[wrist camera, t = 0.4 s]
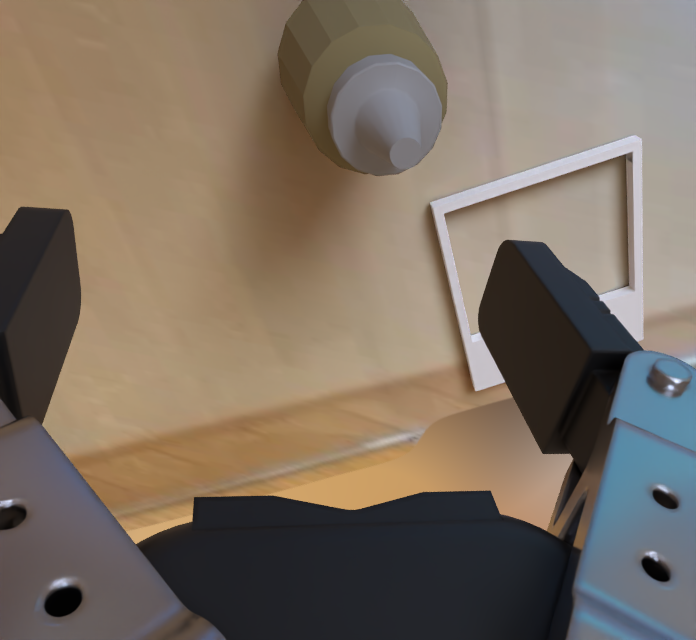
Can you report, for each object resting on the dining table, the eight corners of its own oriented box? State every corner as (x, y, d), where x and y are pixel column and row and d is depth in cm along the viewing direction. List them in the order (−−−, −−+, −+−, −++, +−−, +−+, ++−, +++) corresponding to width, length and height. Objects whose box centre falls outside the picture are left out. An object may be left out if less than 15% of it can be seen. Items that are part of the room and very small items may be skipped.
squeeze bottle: (365, 139, 40) (432, 283, 25) (251, 76, 37) (253, 198, 22) (436, 20, 37) (561, 108, 22) (317, -61, 33) (370, -23, 19)
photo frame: (476, 392, 53) (433, 209, 42) (472, 384, 53) (429, 202, 43) (644, 341, 52) (643, 140, 41) (637, 333, 53) (634, 134, 42)
